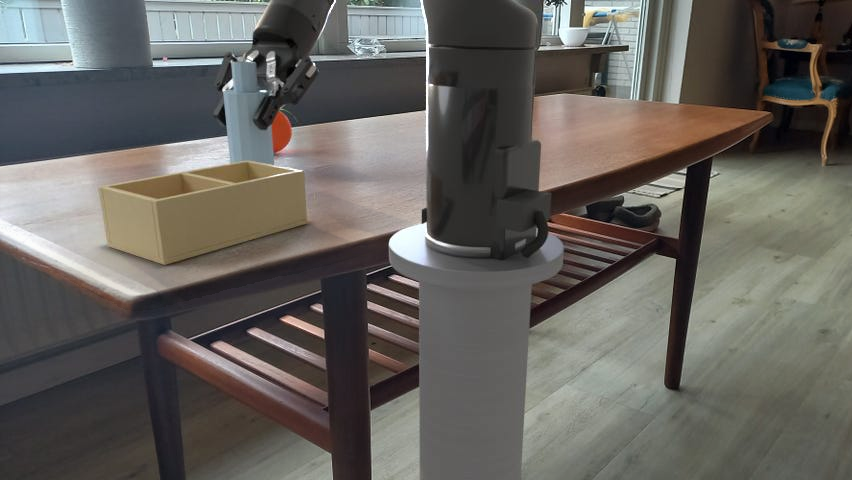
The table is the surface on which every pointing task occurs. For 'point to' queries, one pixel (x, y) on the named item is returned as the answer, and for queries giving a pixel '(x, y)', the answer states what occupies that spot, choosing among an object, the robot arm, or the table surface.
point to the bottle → (246, 117)
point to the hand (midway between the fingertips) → (239, 123)
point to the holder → (202, 209)
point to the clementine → (281, 131)
